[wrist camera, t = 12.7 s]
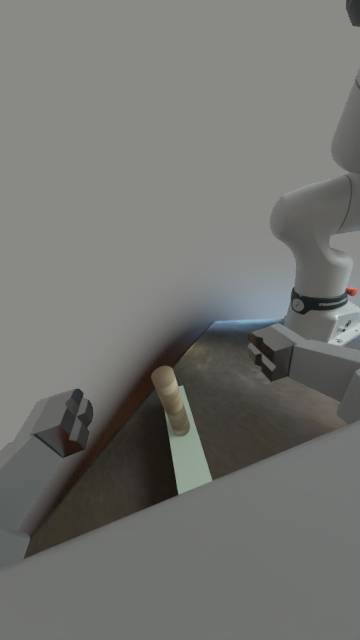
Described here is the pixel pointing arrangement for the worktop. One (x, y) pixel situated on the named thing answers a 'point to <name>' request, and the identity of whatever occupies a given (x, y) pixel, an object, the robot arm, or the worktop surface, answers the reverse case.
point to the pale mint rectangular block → (188, 454)
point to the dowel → (171, 399)
